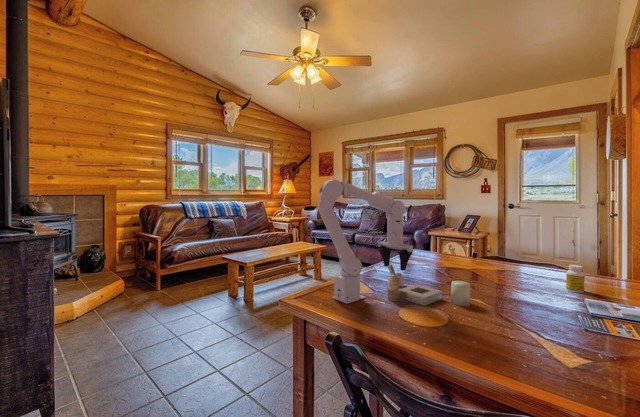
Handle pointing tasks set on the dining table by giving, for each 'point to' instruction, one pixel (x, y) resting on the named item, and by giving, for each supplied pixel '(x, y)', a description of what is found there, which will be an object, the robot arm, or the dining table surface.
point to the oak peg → (393, 288)
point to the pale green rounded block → (460, 293)
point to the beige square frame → (420, 294)
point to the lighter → (397, 275)
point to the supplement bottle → (575, 279)
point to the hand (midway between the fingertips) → (394, 268)
